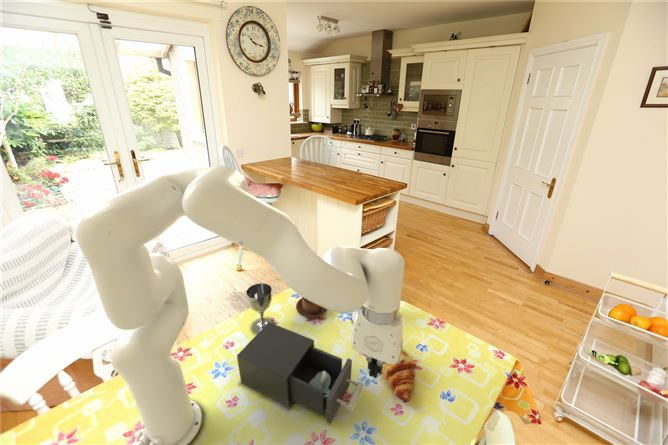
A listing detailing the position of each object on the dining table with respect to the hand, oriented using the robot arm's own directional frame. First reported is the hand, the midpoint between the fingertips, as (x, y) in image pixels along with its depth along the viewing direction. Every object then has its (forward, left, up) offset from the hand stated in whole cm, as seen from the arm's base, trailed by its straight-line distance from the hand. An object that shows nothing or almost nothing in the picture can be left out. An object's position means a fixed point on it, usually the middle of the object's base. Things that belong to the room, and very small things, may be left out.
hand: (374, 372), depth 65 cm
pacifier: (0, +14, -14) cm, 20 cm away
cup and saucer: (+28, +32, -16) cm, 46 cm away
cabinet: (0, +27, -16) cm, 32 cm away
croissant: (+16, -3, -16) cm, 23 cm away
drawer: (0, +13, -15) cm, 20 cm away
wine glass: (+13, +43, -16) cm, 48 cm away
